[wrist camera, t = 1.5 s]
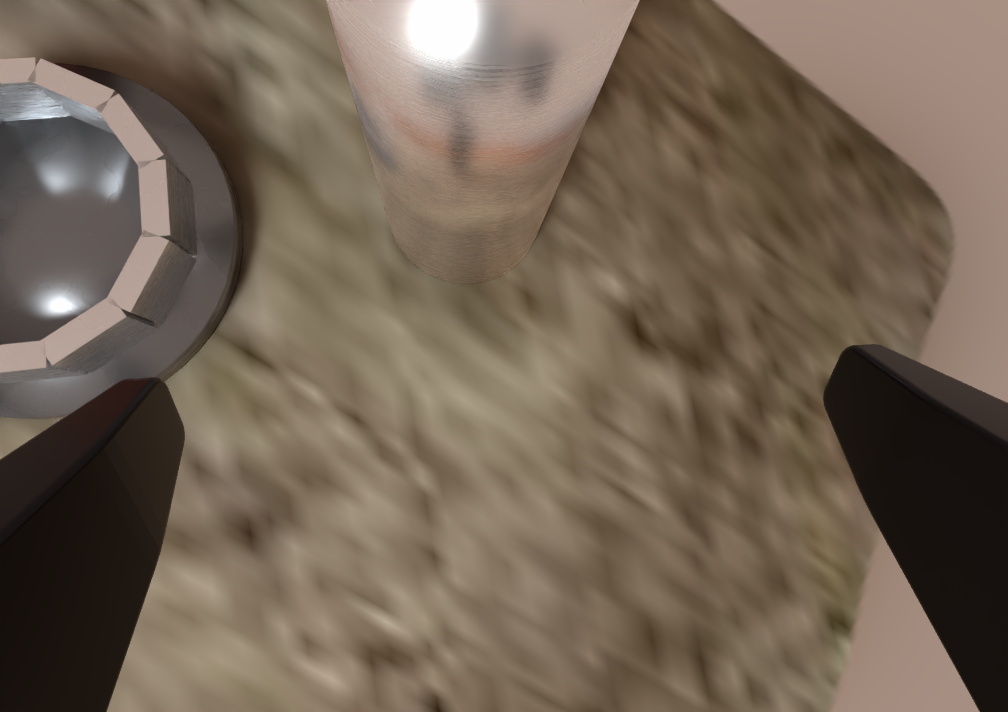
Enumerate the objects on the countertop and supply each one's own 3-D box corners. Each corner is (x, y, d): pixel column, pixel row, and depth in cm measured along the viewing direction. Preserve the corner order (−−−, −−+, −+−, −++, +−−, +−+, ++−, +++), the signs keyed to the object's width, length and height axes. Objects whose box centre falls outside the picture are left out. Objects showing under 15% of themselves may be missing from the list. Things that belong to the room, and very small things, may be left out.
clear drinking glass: (570, 226, 22) (734, -55, 10) (449, 314, 22) (449, 134, 9) (479, 110, 23) (519, -317, 10) (356, 191, 22) (224, -158, 9)
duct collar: (311, 281, 21) (289, 256, 18) (-2, 494, 19) (-83, 504, 16) (117, 20, 22) (65, -45, 19) (-203, 202, 20) (-317, 162, 17)
